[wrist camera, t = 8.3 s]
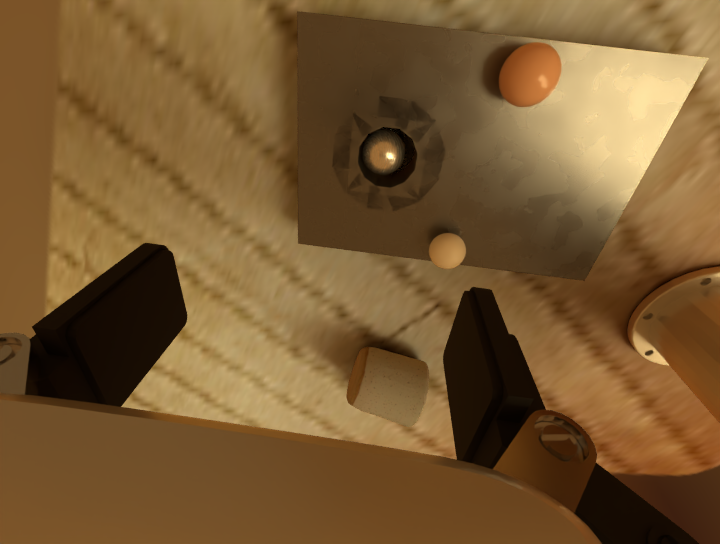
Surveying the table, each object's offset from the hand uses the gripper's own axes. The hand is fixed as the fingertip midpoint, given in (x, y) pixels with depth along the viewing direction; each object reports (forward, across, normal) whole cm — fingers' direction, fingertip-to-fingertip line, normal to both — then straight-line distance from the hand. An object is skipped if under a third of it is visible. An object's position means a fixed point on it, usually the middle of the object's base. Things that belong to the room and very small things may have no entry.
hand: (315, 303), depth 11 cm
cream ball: (+17, -8, +6) cm, 20 cm away
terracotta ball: (+17, -10, -7) cm, 20 cm away
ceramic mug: (+22, -5, +27) cm, 36 cm away
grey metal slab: (+22, -8, 0) cm, 23 cm away
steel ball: (+20, -1, 0) cm, 20 cm away
